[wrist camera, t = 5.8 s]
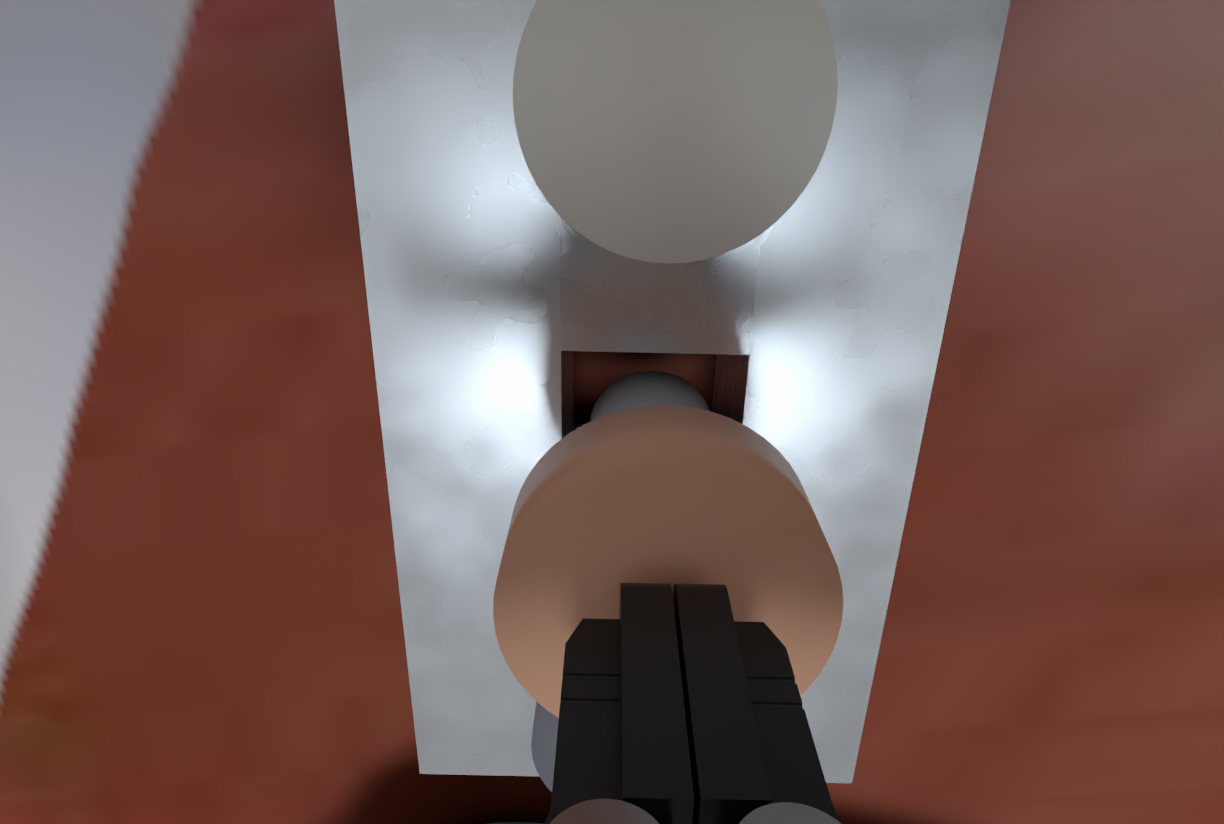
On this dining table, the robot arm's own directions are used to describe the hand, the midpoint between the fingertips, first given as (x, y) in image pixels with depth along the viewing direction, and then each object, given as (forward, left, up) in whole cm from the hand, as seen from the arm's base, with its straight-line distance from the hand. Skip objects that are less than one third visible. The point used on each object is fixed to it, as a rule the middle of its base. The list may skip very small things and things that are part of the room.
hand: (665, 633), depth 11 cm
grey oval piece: (0, -7, -11) cm, 13 cm away
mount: (0, 0, -12) cm, 12 cm away
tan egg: (0, 0, -7) cm, 7 cm away
